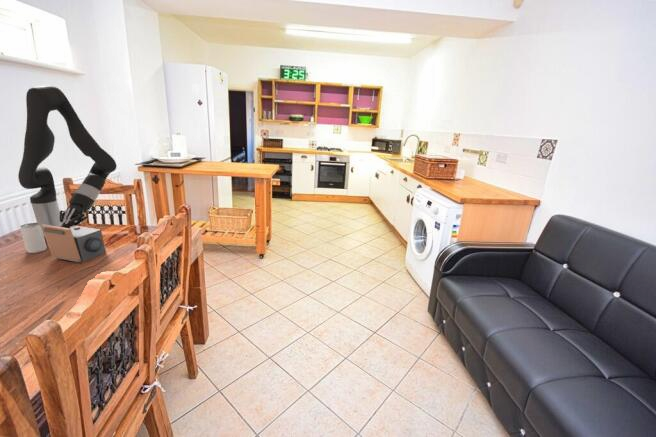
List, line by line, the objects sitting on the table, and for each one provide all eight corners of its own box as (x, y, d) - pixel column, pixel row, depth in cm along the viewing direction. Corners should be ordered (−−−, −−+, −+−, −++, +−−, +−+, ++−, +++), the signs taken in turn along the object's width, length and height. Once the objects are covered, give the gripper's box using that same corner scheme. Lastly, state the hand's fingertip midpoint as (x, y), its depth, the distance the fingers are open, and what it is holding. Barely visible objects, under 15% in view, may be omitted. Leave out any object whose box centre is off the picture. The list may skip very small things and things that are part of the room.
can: (34, 254, 128) (26, 228, 124) (23, 252, 129) (14, 226, 125) (50, 248, 134) (43, 223, 130) (39, 246, 135) (31, 221, 131)
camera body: (109, 253, 131) (104, 228, 128) (87, 263, 122) (80, 237, 118) (81, 248, 135) (75, 224, 131) (57, 257, 126) (50, 232, 122)
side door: (81, 261, 122) (70, 228, 116) (76, 263, 120) (65, 230, 115) (56, 256, 125) (44, 224, 120) (50, 258, 123) (38, 226, 118)
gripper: (65, 190, 125) (39, 227, 118) (89, 193, 122) (65, 231, 115) (80, 199, 132) (57, 235, 124) (104, 202, 129) (82, 239, 121)
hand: (61, 233), depth 120 cm, fingers closed
